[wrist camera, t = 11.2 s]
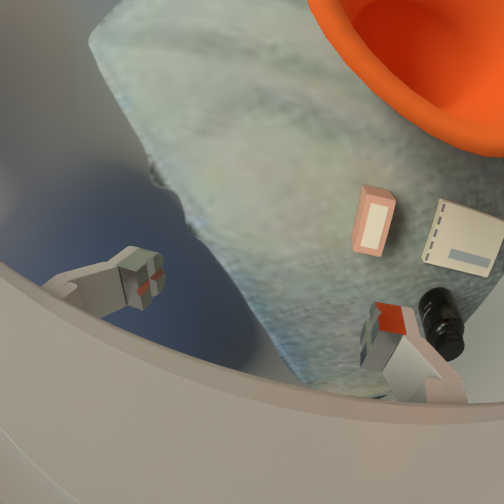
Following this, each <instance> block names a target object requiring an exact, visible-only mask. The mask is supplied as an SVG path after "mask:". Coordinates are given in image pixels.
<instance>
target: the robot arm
mask: <svg viewBox="0 0 504 504" xmlns="http://www.w3.org/2000/svg"><path fill="white" fill-rule="evenodd" d="M163 264H164V263H163V256H161V254H159V253H156V252H152V251H149V250H145V249H141V248H138V247H134V246H129V247H127V248H126V249H124V250H123V251H122V252H120V253H119V254H117V255H116V256H115V257H113V258H112V259H111V260H109V261H108V262H107V263H105V262H102V263H98V264H94V265H91V266H87V267H83V268H79V269H75V270H72V271H68V272H64V273H61V274H57V275H56V276H55V277H53V278H52V279H51V280H49V281H48V282H47V283H45V284H44V285H43V286H41V287H39V286H37V285H36V284H34V283H33V282H31V281H29V280H28V279H26V278H25V277H23V276H21V275H20V274H18V273H17V272H15V271H14V270H12V269H11V268H9V267H7V266H6V265H5V264H4V263H2V262H0V504H504V402H495V403H475V404H468V402H467V397H466V393H465V388H464V384H463V380H462V378H461V377H460V376H459V375H458V374H457V373H456V372H455V370H454V369H453V368H452V367H451V366H450V365H449V364H448V363H447V362H446V361H445V360H444V359H443V357H442V356H441V355H440V354H439V353H438V352H437V351H436V350H435V349H434V348H433V347H432V346H431V345H430V344H429V343H428V342H427V341H426V340H425V339H424V338H421V337H420V333H419V329H418V325H417V322H416V318H415V314H414V311H413V309H412V308H411V307H405V306H397V305H391V304H385V303H379V302H373V304H372V306H371V308H370V310H369V311H370V317H369V318H368V319H366V320H365V323H364V325H363V328H362V332H361V338H360V345H361V346H362V348H363V349H362V351H361V353H360V368H365V369H370V370H376V371H382V374H383V376H384V377H385V379H386V381H387V383H388V384H389V386H390V388H391V390H392V391H393V393H394V395H395V397H396V398H397V400H398V401H389V400H380V399H371V398H363V397H356V396H349V395H342V394H336V393H330V392H324V391H319V390H314V389H309V388H304V387H299V386H294V385H290V384H286V383H281V382H277V381H273V380H268V379H265V378H261V377H257V376H254V375H250V374H246V373H242V372H239V371H236V370H232V369H229V368H226V367H222V366H219V365H216V364H213V363H210V362H206V361H204V360H201V359H197V358H194V357H191V356H189V355H186V354H183V353H180V352H178V351H174V350H172V349H170V348H167V347H164V346H161V345H159V344H157V343H154V342H151V341H149V340H146V339H144V338H142V337H139V336H137V335H134V334H132V333H130V332H128V331H125V330H123V329H121V328H118V327H116V326H114V325H112V324H110V323H108V322H105V321H103V320H101V319H99V318H102V317H104V316H106V315H108V314H110V313H112V312H114V311H116V310H119V309H121V308H123V307H125V306H126V305H129V306H132V307H135V308H138V309H140V310H144V309H145V308H146V307H147V306H148V305H149V304H150V303H151V301H152V297H153V296H155V295H158V294H159V293H160V292H161V291H162V289H163V286H164V284H165V273H164V271H163V270H162V269H161V267H162V265H163Z"/></svg>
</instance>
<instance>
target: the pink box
mask: <svg viewBox="0 0 504 504" xmlns="http://www.w3.org/2000/svg"><path fill="white" fill-rule="evenodd" d="M395 204H396V200H395V198H394V197H393V196H392V194H391V193H390V191H387V190H383V189H379V188H375V187H370V186H366V185H363V187H362V192H361V197H360V202H359V207H358V211H357V216H356V220H355V225H354V229H353V233H352V244H353V251H355V252H360V253H364V254H369V255H374V256H378V257H381V255H382V251H383V248H384V245H385V241H386V238H387V234H388V231H389V227H390V223H391V220H392V216H393V212H394V208H395Z"/></svg>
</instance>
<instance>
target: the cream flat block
mask: <svg viewBox="0 0 504 504" xmlns="http://www.w3.org/2000/svg"><path fill="white" fill-rule="evenodd" d="M503 238H504V220H502V219H500V218H497V217H494V216H492V215H489V214H486V213H484V212H481V211H478V210H475V209H473V208H470V207H467V206H464V205H461V204H458V203H455V202H452V201H449V200H445V199H442V198H440V199H439V203H438V206H437V210H436V214H435V217H434V220H433V224H432V227H431V230H430V233H429V236H428V239H427V242H426V245H425V248H424V251H423V254H422V257H421V258H422V260H423V262H425V263H429V264H434V265H438V266H442V267H446V268H450V269H455V270H459V271H463V272H467V273H471V274H475V275H479V276H483V277H488V275H489V273H490V271H491V268H492V266H493V264H494V261H495V259H496V257H497V254H498V252H499V249H500V246H501V244H502V241H503Z"/></svg>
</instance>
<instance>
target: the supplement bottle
mask: <svg viewBox="0 0 504 504" xmlns="http://www.w3.org/2000/svg"><path fill="white" fill-rule="evenodd" d="M418 308H419V314H420V317H421V321H422V325H423V329H424V333H425V337H426V341H427V342H428V343H429V344H430V345H431V346H432V347H433V348H434V349H435V350H436V351H437V352H438V353H439V354H440V355H441V356H442V357H443V359H444V360H445V361H446V362H449V361H451V360H454V359H455V358H457V357H458V356H459V355H461V353H462V352H463V350H464V346H465V345H464V341H463V334H464V323H463V321H462V318H461V316H460V313H459V311H458V308H457V306H456V304H455V302H454V299H453V297H452V295H451V293H450V292H449V291H448V290H446V289H444V288H434V289H432V290H430V291H428V292H427V293H425V294H424V296H423V297H422V298H421V300H420V302H419V307H418Z"/></svg>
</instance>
